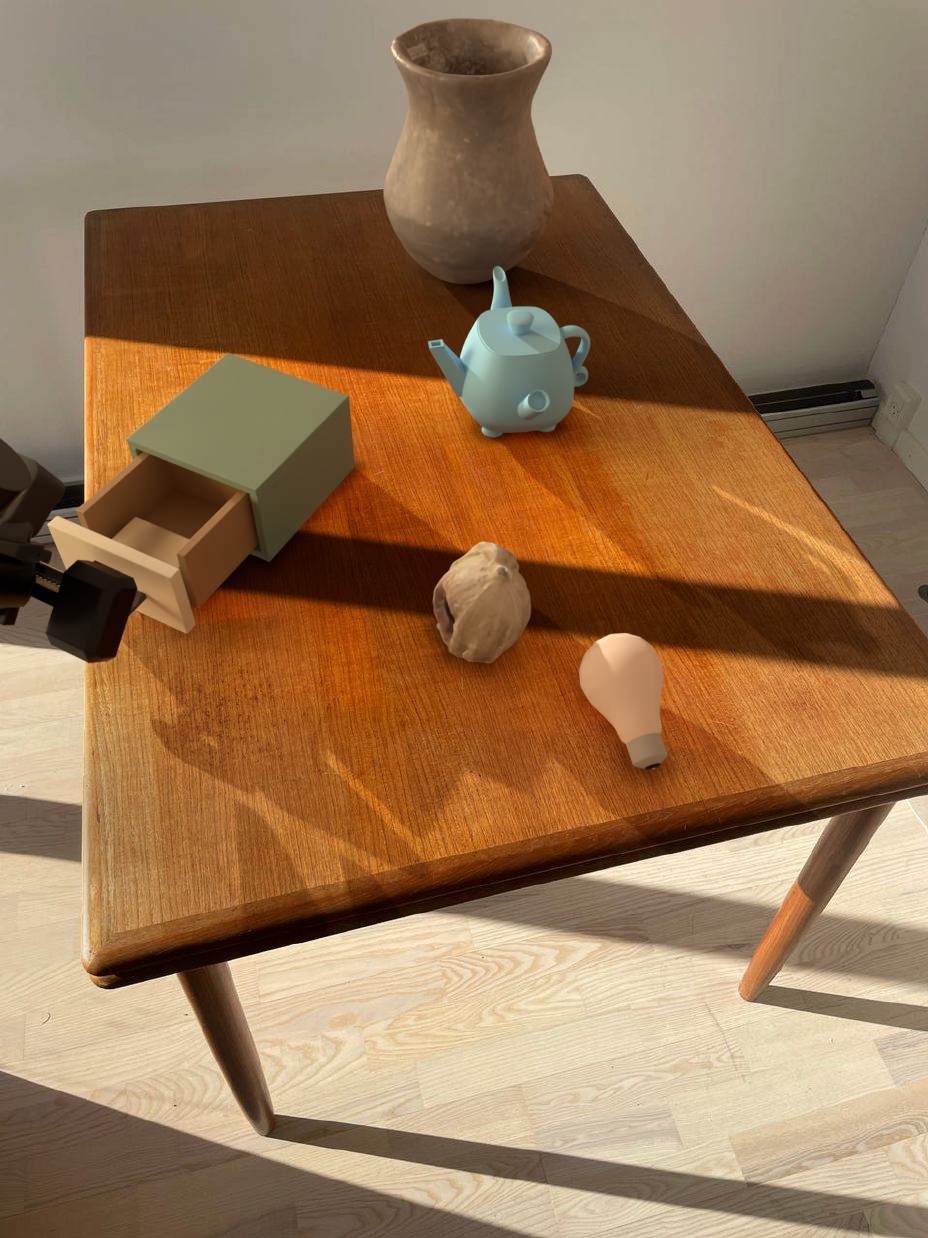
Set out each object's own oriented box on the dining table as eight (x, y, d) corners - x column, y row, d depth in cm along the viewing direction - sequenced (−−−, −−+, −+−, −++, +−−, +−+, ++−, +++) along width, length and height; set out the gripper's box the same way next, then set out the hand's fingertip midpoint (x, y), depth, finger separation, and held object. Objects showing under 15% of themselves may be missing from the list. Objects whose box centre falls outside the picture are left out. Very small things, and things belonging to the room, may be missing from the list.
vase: (372, 303, 113) (361, 74, 94) (400, 223, 126) (395, 6, 107) (540, 319, 112) (563, 91, 93) (551, 237, 125) (573, 20, 105)
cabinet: (269, 562, 86) (256, 490, 80) (148, 511, 90) (125, 438, 84) (355, 467, 95) (349, 395, 88) (240, 424, 99) (227, 352, 92)
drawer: (153, 671, 77) (133, 616, 72) (34, 614, 81) (7, 558, 75) (280, 532, 87) (271, 476, 82) (170, 488, 91) (154, 430, 86)
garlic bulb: (467, 616, 86) (474, 513, 81) (550, 648, 82) (563, 541, 77) (403, 660, 79) (407, 549, 74) (490, 697, 75) (500, 583, 70)
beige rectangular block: (206, 564, 83) (201, 544, 81) (177, 595, 81) (171, 574, 79) (142, 536, 85) (135, 516, 83) (111, 565, 83) (104, 545, 81)
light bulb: (701, 746, 69) (651, 610, 73) (613, 771, 69) (568, 633, 73) (690, 767, 75) (645, 640, 79) (609, 790, 75) (568, 661, 79)
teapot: (412, 413, 100) (411, 317, 92) (491, 354, 108) (497, 260, 99) (532, 477, 95) (543, 380, 86) (608, 409, 102) (624, 314, 93)
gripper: (77, 499, 57) (222, 519, 72) (-147, 403, 62) (31, 441, 77) (24, 673, 59) (176, 658, 73) (-191, 565, 64) (-8, 571, 79)
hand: (92, 576), depth 76 cm, fingers open, 8 cm apart
